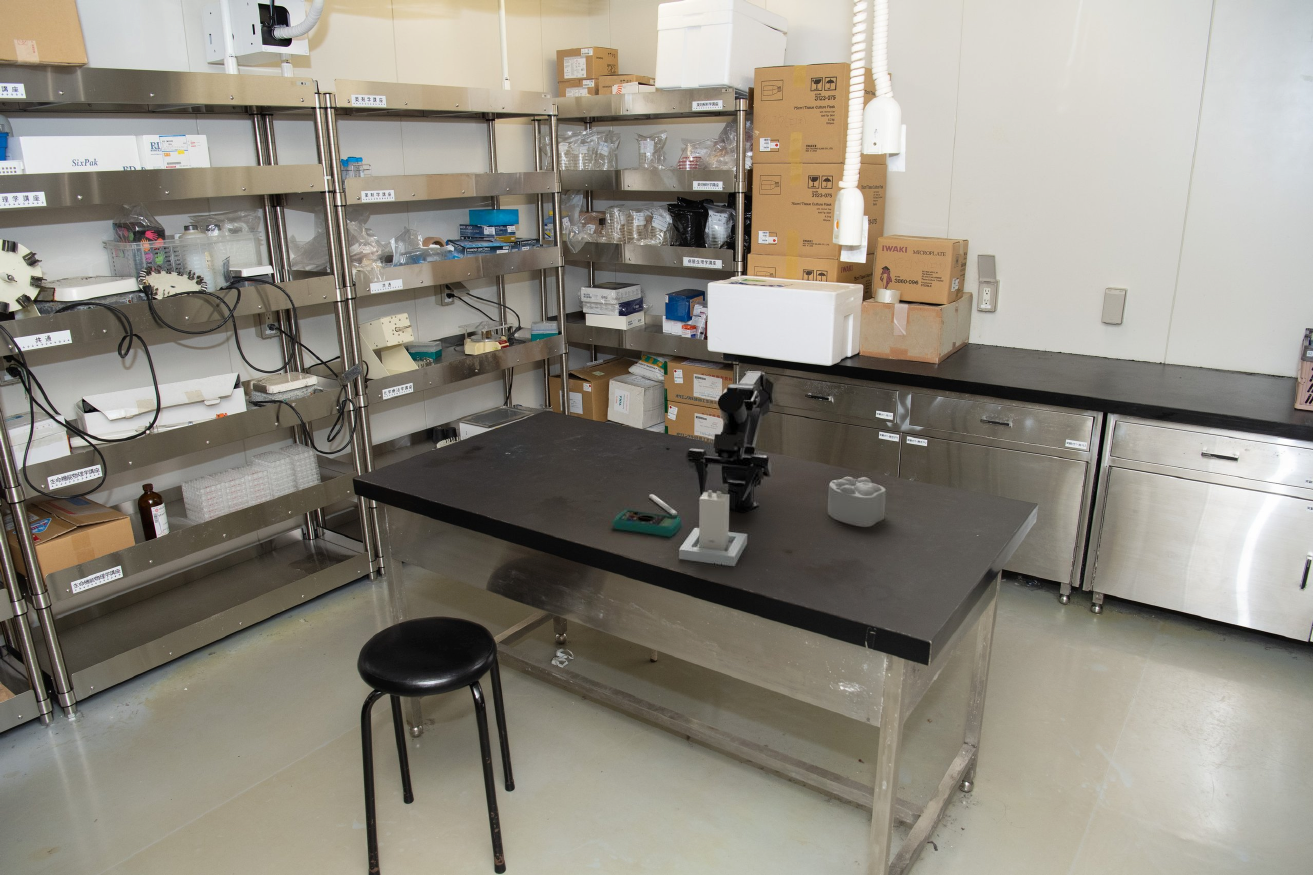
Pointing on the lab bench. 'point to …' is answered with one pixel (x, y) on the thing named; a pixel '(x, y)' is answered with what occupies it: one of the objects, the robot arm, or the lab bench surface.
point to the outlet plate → (726, 557)
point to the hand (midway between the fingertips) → (721, 497)
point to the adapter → (714, 520)
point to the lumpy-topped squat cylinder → (856, 501)
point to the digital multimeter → (647, 523)
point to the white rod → (663, 504)
